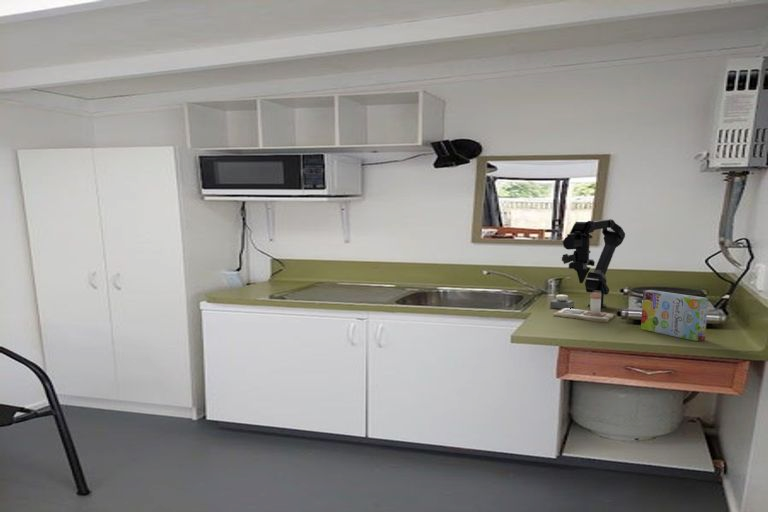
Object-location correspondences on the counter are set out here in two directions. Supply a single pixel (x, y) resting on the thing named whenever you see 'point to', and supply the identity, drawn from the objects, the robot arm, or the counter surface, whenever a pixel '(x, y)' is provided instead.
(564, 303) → the button base
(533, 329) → the counter surface
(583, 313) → the picture board
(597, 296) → the orange topped white container
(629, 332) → the counter surface
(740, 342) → the counter surface
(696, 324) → the snack box
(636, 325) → the counter surface
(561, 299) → the button
